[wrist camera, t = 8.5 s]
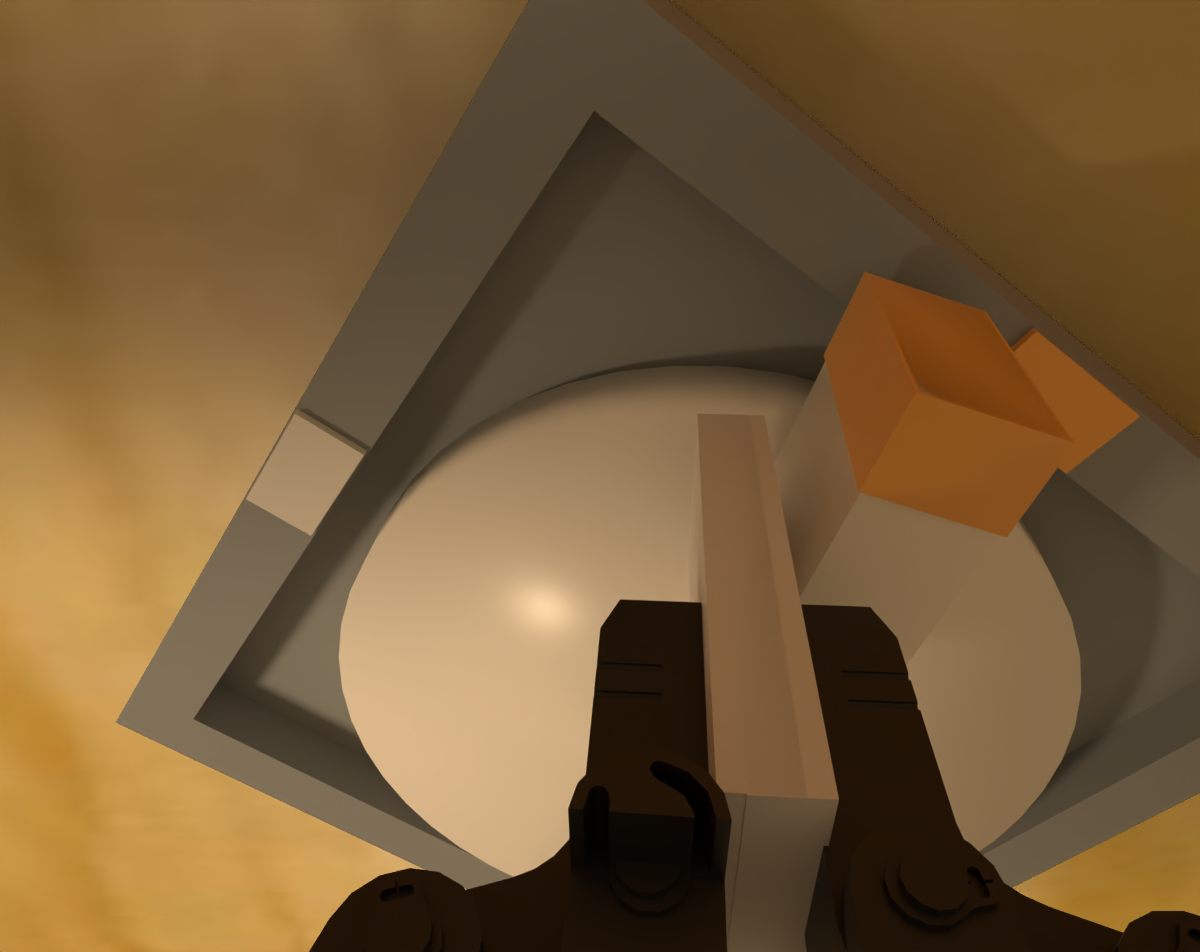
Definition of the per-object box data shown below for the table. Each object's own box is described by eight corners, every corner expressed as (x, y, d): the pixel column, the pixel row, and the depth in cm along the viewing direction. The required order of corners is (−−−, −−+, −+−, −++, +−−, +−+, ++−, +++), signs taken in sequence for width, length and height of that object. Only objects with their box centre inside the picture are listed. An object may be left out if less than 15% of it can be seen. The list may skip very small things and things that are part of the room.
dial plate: (743, 942, 28) (746, 1027, 26) (166, 652, 23) (111, 727, 21) (1368, 582, 18) (1456, 672, 16) (586, -69, 13) (563, -63, 11)
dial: (855, 918, 24) (888, 1142, 20) (329, 776, 23) (242, 980, 19) (1323, 394, 14) (1589, 608, 10) (452, 104, 13) (327, 203, 9)
